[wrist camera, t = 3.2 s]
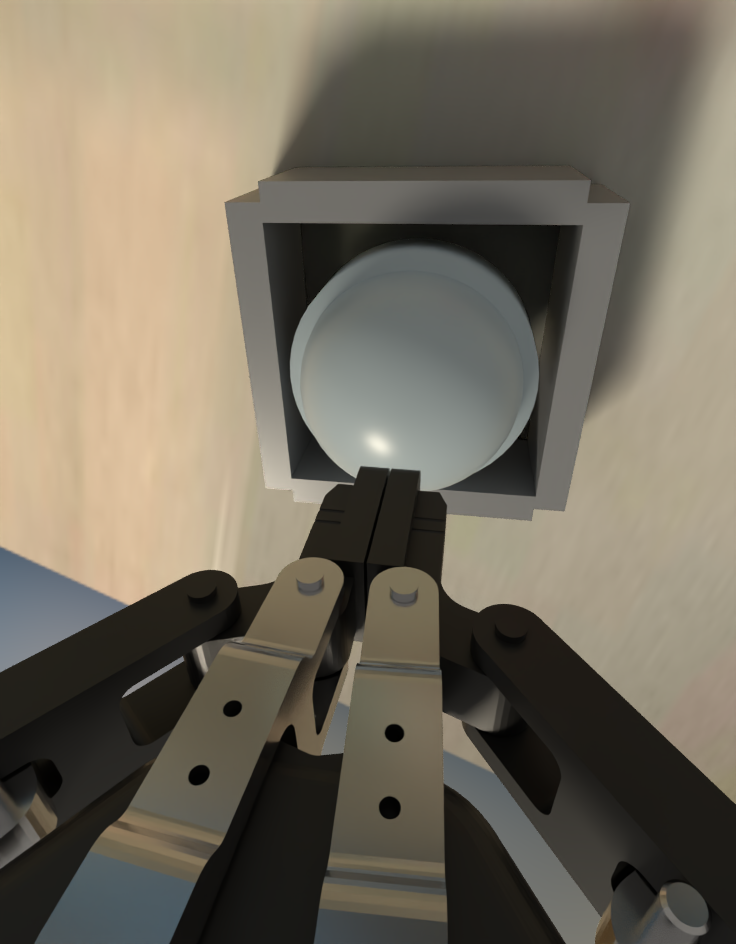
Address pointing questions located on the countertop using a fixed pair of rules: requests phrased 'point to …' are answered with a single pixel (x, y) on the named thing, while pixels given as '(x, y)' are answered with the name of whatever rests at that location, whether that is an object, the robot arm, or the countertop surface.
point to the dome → (416, 362)
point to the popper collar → (430, 202)
